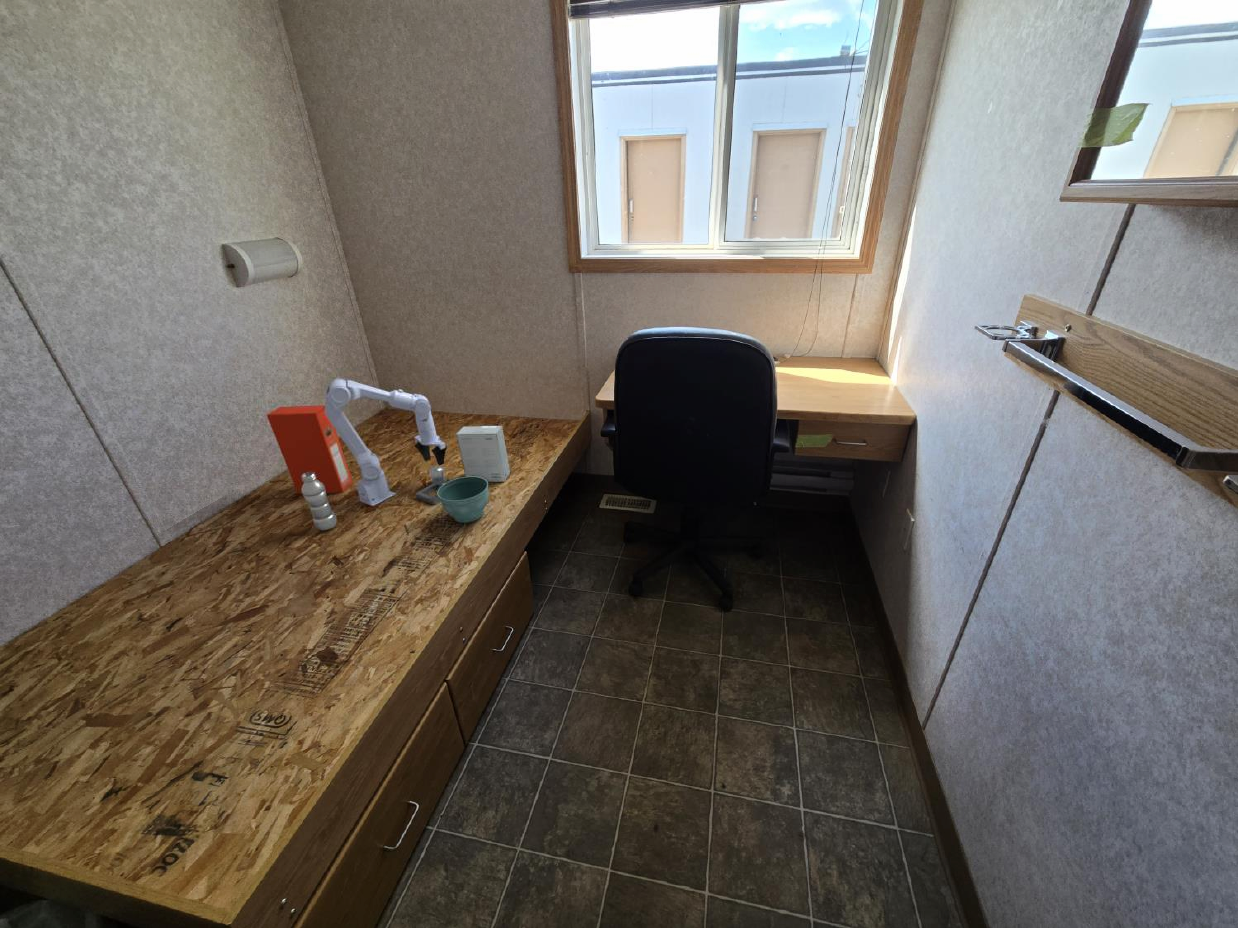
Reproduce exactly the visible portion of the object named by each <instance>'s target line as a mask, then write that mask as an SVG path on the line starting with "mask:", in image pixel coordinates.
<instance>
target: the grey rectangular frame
mask: <svg viewBox="0 0 1238 928" xmlns="http://www.w3.org/2000/svg"><path fill="white" fill-rule="evenodd" d="M442 485H444V483H441V482H438V481H437V482H435V483H434V484H430V485H428V486H426V487H425V488H423V489H421V490H419V491H417V492H415V493H414V494H415V498H416V499H417V500H420V501H423V502H426V503H428V504H431V505H433V506H436V505H438V504H439V503H441V501H440V499H439V497H438V494H437V495H436V496H433V495H429V494H432V493H433V492H435V491H436V490H437V491H438V490H439V488H440V487H441V486H442Z"/></svg>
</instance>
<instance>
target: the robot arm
mask: <svg viewBox="0 0 1238 928" xmlns="http://www.w3.org/2000/svg"><path fill="white" fill-rule="evenodd" d="M325 393H326V396H325V403H324V404H325V415H326V416H327V418H328V419H329V421H330V422H331V424H332V425H333V426H334V428H335V430H336V433H337V434H339V436H340V438H341V440H343V442H344V443H345V445H346V447H347V448H348V449H349V451H350V452H351V453H352V455H353V456H354V458H355V461H356V464H358V467H360V473H361V479H360V480H359V481H357V483H356V484H355V485H356V489H357V492H358V493H357V494H358V496H359V502H360V503H361V502H362V503H364V504H366V505H369V506H372V507H374V506H376V505H379V504H381V502H384V501H386V500H388V499H389V498H391V497H393V496H395V495H396V492H393V491H390V489H389V484H388V482H387V478H386V475H385V472H384V470H382V468H381V463H380V462H381V460H380V458H379V456H377V455H375V454H374V453H373V452H372V451H371V449H369V448H368V446H366V444H365V443H364V441H363V439H361V437H360V435H359V434H358V433H357V431H356V429H355V428H354V426H353V425H352V424H351V422H350V421H349V419H348V418H347V416H346V414H345V413H344V412H343V410H344V408H345V406H346V405H347V404H348V403H349V402H350V400H351V398H352V400H353V401H355V400H357V399H358V400H359V398H362V397H364V398H368V399H372V400H378V401H383V402H387V403H388V404H389V406H390V407H394V408H397V409H401V410H405V411H413V412H414V415H415V416H414V417H415V423H416V427H417V430H418V435H416V436H414V437H413V438H414V440H415V444H414V447H415V449H416V450H418V452H419V453H420V454H421V456H422V458H423V459H424V461H425V462H428V461H430V460H431V459H432V457H431V452H432V454H433V456H434V457H435V459H436V463H437V466H442V465H444V464H445V455H446V451H447V449H448V447H447V445H446V444H445V442H443V441H442V440H441V439H440V436H439V435H437V431H436V427H435V423H434V418H433V415H432V411H431V409H432V405H431V403H430V401H429V400H428V398H427V397H426V396H424V395H423V394H420V393H419V394H417V393H413V394H412V393H408V392H404V390H403V389H398V390H397V389H394V390H392V391H387V390H384V389H380V388H377V387H374V386H371V385H367V384H364V383H359V382H357V381H354V380H350V379H347V380H346V379H345V378H335V379H332V380H331V381H330V383H329V384H328V386H327V388H326V392H325ZM431 446H432V447H434V448H431ZM430 448H431V449H430ZM430 450H431V451H430Z"/></svg>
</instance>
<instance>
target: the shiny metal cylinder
mask: <svg viewBox="0 0 1238 928" xmlns="http://www.w3.org/2000/svg"><path fill="white" fill-rule="evenodd" d="M428 471H429V475H430V479H431V483H432V484H434V483H435V482H437V481H438V482H441V483H444V484H445V483H447V480H446V475H445V470H444V466H442V465H434V466H431V467H429V469H428ZM432 484H431V485H432Z"/></svg>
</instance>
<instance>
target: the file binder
mask: <svg viewBox="0 0 1238 928" xmlns="http://www.w3.org/2000/svg"><path fill="white" fill-rule="evenodd" d="M266 416H267V417H266V418H267V420H268V422H269V425H270V427H271V429H272V432H273V435H274V437H275V440H276V442H277V445H278V447H279V450H280V452H281V456H282V457H283V459H284V462H285V465H286V467H287V470H288V473H289V475H290V477H291V480H292V482H293V484H294V487H295V490H296V491H297V494H299V495H300V494H302V486H303V484H304V482H303V481H302V474H304V473H307V472H314V473H315V476H316V480H318V481H320V482H321V483H322V484H323V485H324V486H325V491H326V494H329V493H330V494H334V493H344V492H345V491H346V490H347V489H348V488H349V487H351V485H353V482H354V481H353V477H352V474H351V472H350V469H349V466H348V463H347V459H346V457H345V454H344V451H343V447H342V444H341V442H340V439H339V436H338V432H337V431H336V429H335V428H334V426H333V425H332V424H331V422H330V421H329V419H328V418H327V416H326V415H325V405H321V404H320V405H300V406H299V405H298V406H295V405H294V406H293V405H292V406H279V407H278V408H275V409H274V410H273V411H271V412H269V413H267V414H266ZM302 495H303V494H302Z"/></svg>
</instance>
